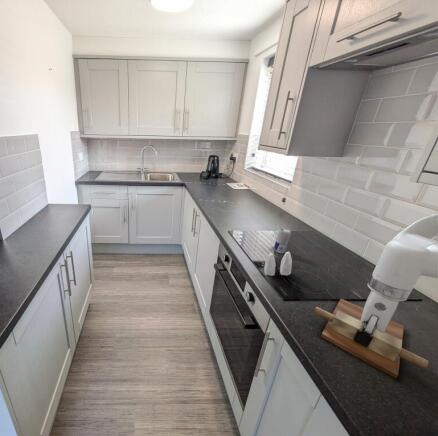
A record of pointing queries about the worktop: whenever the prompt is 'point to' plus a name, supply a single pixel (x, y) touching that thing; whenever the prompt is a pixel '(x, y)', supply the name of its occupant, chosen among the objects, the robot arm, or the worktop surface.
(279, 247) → the energy drink
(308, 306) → the worktop surface
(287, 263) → the shaker set
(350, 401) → the worktop surface
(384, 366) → the pastry board
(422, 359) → the rolling pin
